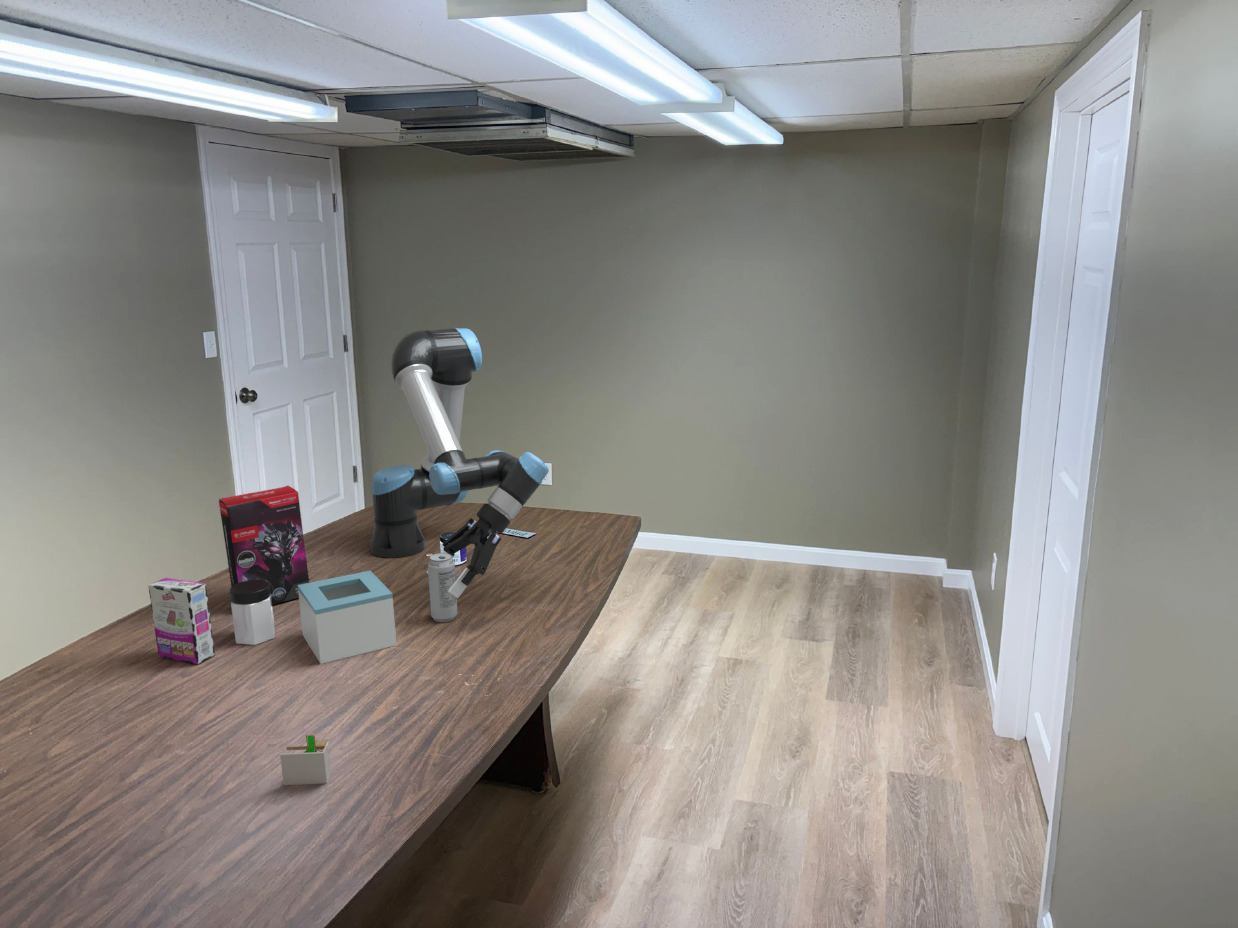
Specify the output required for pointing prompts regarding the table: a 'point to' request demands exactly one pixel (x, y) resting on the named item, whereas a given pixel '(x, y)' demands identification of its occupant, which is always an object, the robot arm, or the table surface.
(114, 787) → the table surface
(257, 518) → the graphics card box
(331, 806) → the table surface
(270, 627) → the jar
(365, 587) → the recycling box
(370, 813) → the table surface
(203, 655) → the candy bar box
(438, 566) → the energy drink can
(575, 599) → the table surface
